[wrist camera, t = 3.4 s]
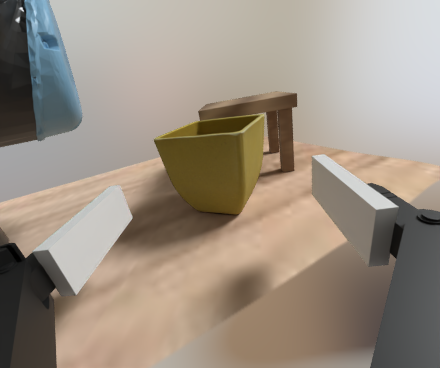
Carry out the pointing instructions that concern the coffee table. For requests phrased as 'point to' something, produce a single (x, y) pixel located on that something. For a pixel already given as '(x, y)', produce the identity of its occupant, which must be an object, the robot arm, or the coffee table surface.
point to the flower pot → (215, 161)
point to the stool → (272, 106)
